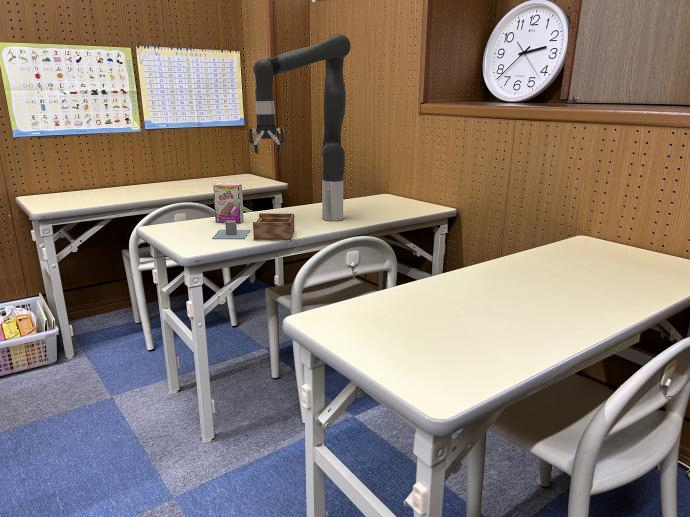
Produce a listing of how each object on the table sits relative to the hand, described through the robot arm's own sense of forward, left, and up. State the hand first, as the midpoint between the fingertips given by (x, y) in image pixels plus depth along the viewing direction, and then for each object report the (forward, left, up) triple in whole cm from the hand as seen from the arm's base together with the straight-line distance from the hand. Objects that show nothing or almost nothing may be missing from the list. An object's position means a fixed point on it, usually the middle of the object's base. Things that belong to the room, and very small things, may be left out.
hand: (267, 153), depth 206 cm
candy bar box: (+17, 0, -29) cm, 34 cm away
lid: (+12, +20, -30) cm, 38 cm away
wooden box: (-5, +20, -29) cm, 36 cm away
